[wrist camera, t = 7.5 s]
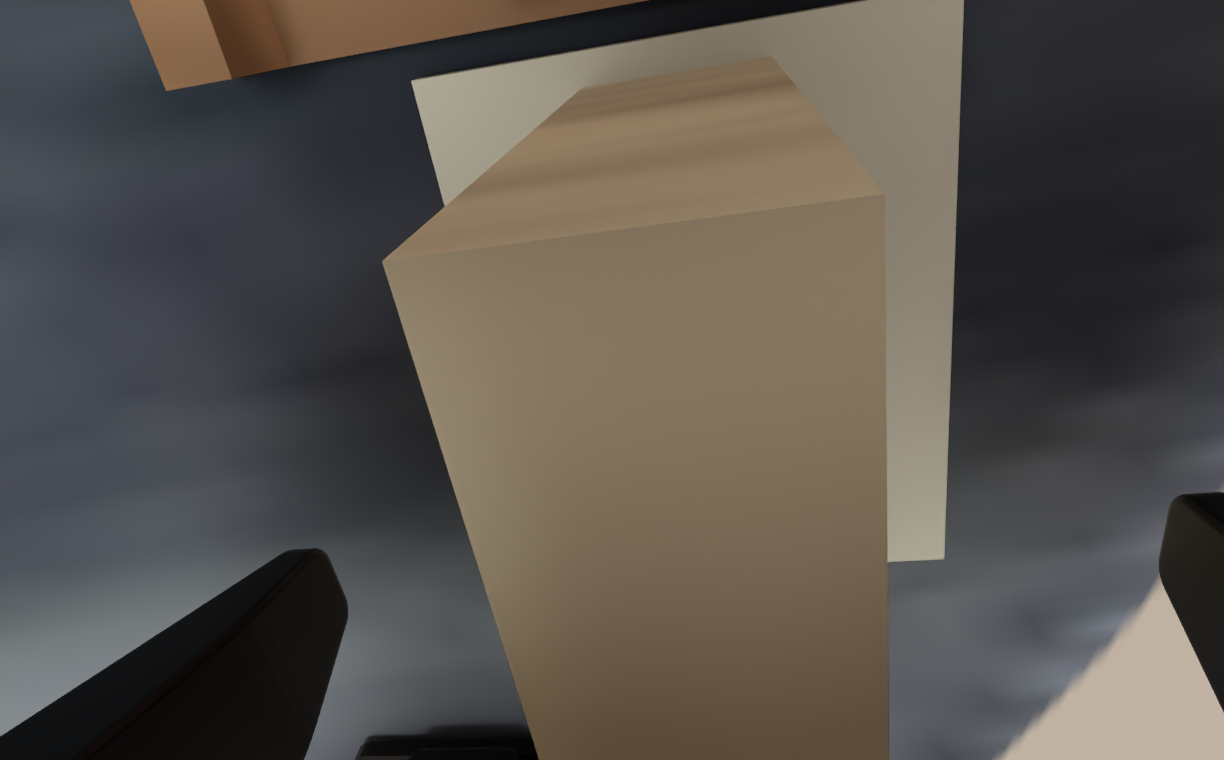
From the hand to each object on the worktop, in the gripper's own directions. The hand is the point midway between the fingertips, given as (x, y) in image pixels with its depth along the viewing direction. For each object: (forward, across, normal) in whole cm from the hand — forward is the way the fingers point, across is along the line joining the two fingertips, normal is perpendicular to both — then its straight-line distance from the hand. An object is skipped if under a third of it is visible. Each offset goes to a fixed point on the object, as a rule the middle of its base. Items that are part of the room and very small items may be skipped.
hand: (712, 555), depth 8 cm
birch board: (+6, 0, 0) cm, 6 cm away
